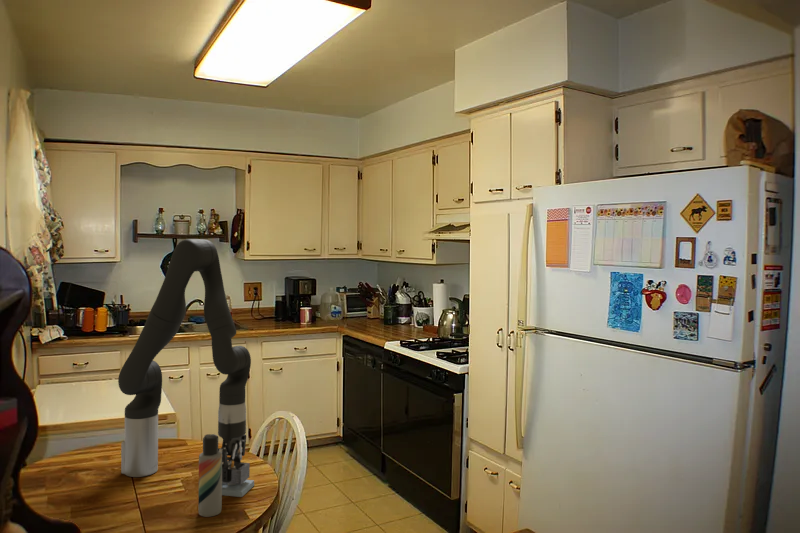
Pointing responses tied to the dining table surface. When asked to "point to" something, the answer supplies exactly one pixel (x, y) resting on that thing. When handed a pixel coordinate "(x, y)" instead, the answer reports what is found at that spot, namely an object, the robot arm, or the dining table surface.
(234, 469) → the link
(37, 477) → the dining table surface
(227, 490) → the grey base with peg
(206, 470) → the lotion bottle
